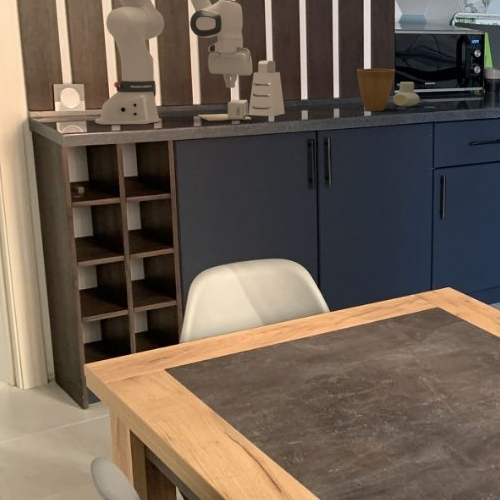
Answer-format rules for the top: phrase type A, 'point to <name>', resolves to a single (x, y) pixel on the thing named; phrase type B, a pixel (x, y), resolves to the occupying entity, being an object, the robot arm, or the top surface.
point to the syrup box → (237, 109)
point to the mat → (219, 117)
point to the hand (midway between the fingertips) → (230, 87)
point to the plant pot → (375, 87)
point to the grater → (266, 91)
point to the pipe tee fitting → (406, 95)
